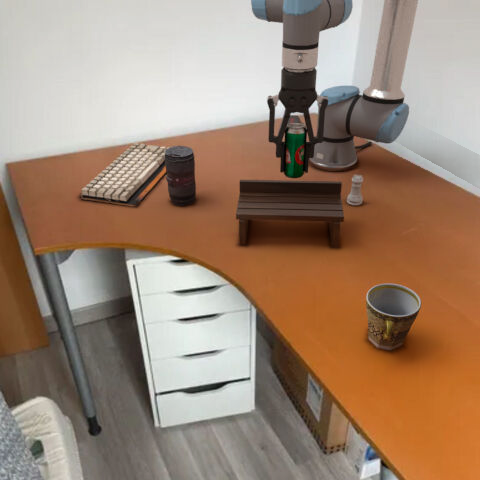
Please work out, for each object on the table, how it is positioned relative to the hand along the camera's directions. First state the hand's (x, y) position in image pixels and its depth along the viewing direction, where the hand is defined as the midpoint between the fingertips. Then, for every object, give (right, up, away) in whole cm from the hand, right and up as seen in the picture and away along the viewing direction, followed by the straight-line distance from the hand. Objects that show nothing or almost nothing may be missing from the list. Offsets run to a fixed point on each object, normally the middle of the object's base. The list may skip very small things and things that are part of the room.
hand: (294, 169), depth 126 cm
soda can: (0, -1, +1) cm, 1 cm away
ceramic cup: (+16, -40, -23) cm, 48 cm away
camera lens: (-29, -3, +26) cm, 39 cm away
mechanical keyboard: (-46, +7, +39) cm, 61 cm away
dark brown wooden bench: (0, -14, +11) cm, 17 cm away
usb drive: (+7, +33, +70) cm, 78 cm away
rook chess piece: (+19, -4, +23) cm, 30 cm away
